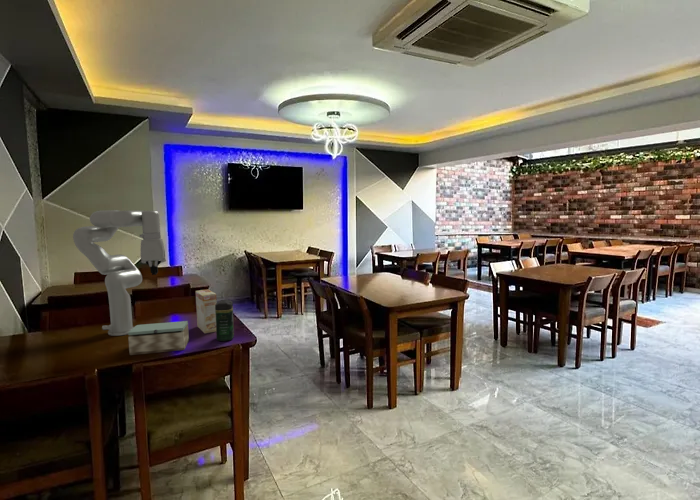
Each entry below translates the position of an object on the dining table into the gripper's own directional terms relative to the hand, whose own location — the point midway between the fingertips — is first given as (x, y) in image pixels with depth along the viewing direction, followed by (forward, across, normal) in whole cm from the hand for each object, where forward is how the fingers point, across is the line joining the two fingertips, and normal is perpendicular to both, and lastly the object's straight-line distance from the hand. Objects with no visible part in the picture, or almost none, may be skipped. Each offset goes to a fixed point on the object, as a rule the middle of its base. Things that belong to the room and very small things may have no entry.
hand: (154, 274), depth 192 cm
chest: (+31, +4, -16) cm, 35 cm away
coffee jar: (+31, +32, -12) cm, 46 cm away
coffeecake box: (+31, +22, +7) cm, 39 cm away
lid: (+23, +4, -17) cm, 28 cm away
